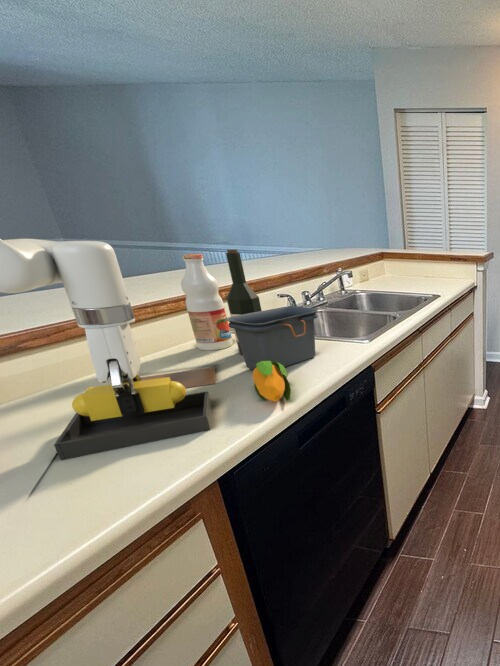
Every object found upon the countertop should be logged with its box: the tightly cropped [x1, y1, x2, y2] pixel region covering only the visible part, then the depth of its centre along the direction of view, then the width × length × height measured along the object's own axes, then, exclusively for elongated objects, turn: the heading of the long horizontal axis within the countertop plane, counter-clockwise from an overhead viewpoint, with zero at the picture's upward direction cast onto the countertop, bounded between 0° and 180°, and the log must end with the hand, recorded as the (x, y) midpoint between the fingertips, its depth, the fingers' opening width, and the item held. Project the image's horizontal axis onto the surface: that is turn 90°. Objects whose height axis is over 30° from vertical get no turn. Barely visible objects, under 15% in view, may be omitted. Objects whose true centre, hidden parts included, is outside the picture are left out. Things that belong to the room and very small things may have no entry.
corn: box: [252, 361, 292, 403], centre depth 98 cm, size 7×8×20 cm
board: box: [140, 366, 216, 390], centre depth 105 cm, size 20×14×1 cm
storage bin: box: [226, 305, 319, 371], centre depth 117 cm, size 21×16×14 cm
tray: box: [53, 390, 212, 461], centre depth 82 cm, size 21×14×4 cm
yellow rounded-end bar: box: [71, 377, 187, 421], centre depth 80 cm, size 16×4×5 cm, turn 123°
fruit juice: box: [180, 253, 234, 351], centre depth 128 cm, size 9×9×28 cm
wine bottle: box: [225, 248, 263, 357], centre depth 123 cm, size 8×8×30 cm
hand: (135, 408), depth 81 cm, fingers closed on yellow rounded-end bar, 4 cm apart
